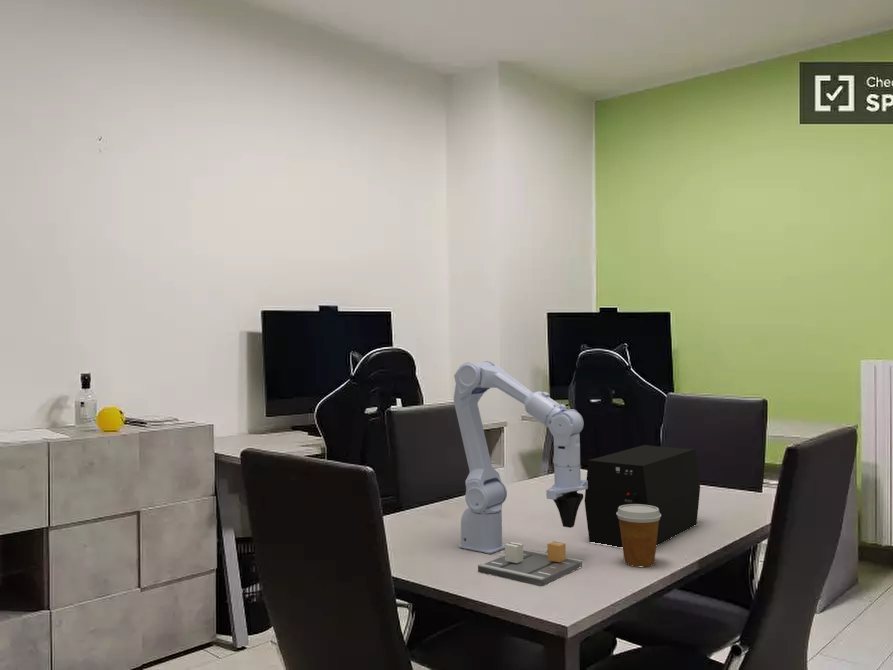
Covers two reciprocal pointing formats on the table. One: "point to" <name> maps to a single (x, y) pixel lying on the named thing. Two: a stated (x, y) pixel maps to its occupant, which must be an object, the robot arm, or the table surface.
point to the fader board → (530, 568)
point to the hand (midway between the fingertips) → (568, 526)
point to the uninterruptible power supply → (642, 490)
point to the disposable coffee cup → (639, 533)
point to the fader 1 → (514, 552)
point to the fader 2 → (556, 551)
